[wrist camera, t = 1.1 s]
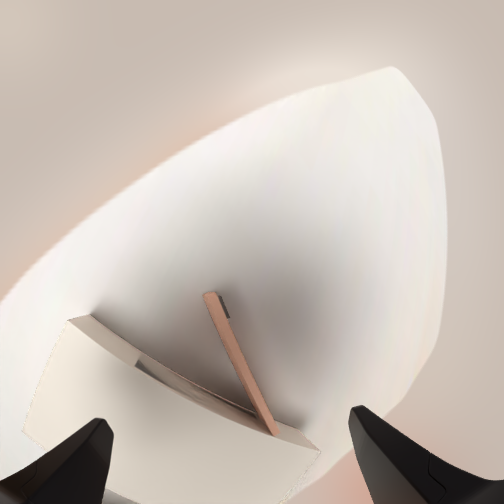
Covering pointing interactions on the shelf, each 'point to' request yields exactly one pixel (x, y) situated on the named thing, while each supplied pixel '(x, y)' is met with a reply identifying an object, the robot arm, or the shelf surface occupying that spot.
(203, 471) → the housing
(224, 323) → the side door
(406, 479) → the robot arm
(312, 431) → the shelf surface
